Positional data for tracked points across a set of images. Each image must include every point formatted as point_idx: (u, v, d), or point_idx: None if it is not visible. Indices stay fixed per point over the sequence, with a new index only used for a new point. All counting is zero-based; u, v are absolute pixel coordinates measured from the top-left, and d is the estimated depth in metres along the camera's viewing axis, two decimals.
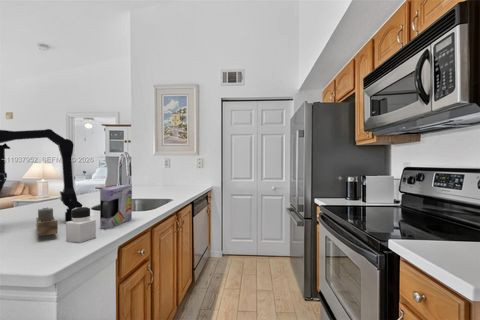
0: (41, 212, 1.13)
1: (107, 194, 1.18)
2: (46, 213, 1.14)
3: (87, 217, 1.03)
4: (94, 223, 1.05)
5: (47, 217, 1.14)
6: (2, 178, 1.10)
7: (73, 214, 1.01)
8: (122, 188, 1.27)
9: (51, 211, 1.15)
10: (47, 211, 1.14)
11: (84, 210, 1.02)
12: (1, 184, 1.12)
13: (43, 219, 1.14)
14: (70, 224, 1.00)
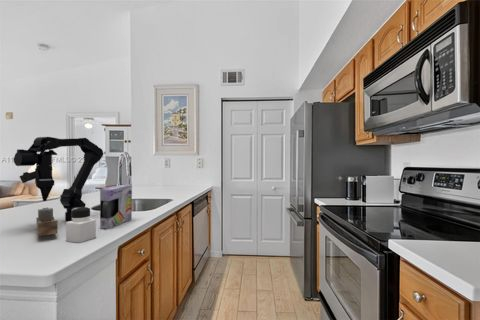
0: (41, 212, 1.13)
1: (107, 194, 1.18)
2: (46, 213, 1.14)
3: (87, 217, 1.03)
4: (94, 223, 1.05)
5: (47, 217, 1.14)
6: (52, 183, 1.15)
7: (73, 214, 1.01)
8: (122, 188, 1.27)
9: (51, 211, 1.15)
10: (47, 211, 1.14)
11: (84, 210, 1.02)
12: (50, 188, 1.20)
13: (43, 219, 1.14)
14: (70, 224, 1.00)
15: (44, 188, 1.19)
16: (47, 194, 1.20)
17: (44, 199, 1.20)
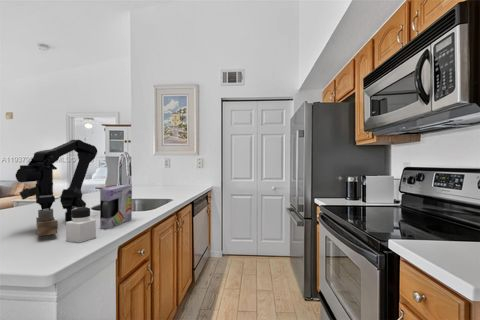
0: (41, 213, 1.12)
1: (107, 194, 1.18)
2: (46, 214, 1.13)
3: (87, 217, 1.03)
4: (94, 223, 1.05)
5: (47, 217, 1.13)
6: (53, 200, 1.12)
7: (73, 214, 1.01)
8: (122, 188, 1.27)
9: (51, 211, 1.14)
10: (47, 212, 1.13)
11: (84, 210, 1.02)
12: (50, 204, 1.17)
13: (43, 220, 1.12)
14: (70, 224, 1.00)
15: (44, 204, 1.17)
16: None
17: None
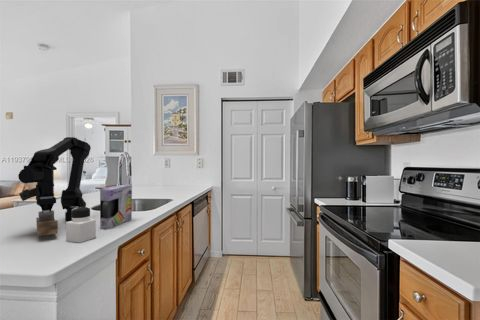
0: (42, 214, 1.08)
1: (107, 194, 1.18)
2: (47, 215, 1.09)
3: (87, 217, 1.03)
4: (94, 223, 1.05)
5: (48, 219, 1.09)
6: (54, 201, 1.08)
7: (73, 214, 1.01)
8: (122, 188, 1.27)
9: (52, 213, 1.10)
10: (48, 213, 1.10)
11: (84, 210, 1.02)
12: (51, 205, 1.14)
13: None
14: (70, 224, 1.00)
15: (45, 205, 1.13)
16: None
17: None
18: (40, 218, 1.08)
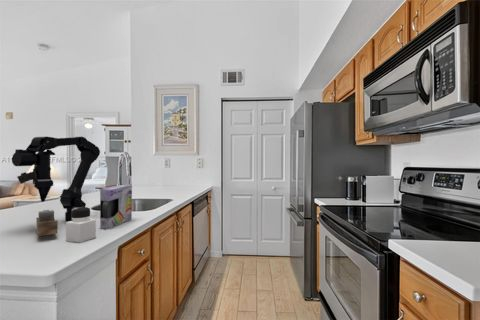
0: (42, 214, 1.08)
1: (107, 194, 1.18)
2: (47, 215, 1.09)
3: (87, 217, 1.03)
4: (94, 223, 1.05)
5: (48, 219, 1.09)
6: (51, 184, 1.13)
7: (73, 214, 1.01)
8: (122, 188, 1.27)
9: (52, 213, 1.10)
10: (48, 213, 1.09)
11: (84, 210, 1.02)
12: (48, 189, 1.18)
13: None
14: (70, 224, 1.00)
15: (42, 188, 1.18)
16: (45, 195, 1.18)
17: (42, 200, 1.18)
18: (40, 218, 1.08)
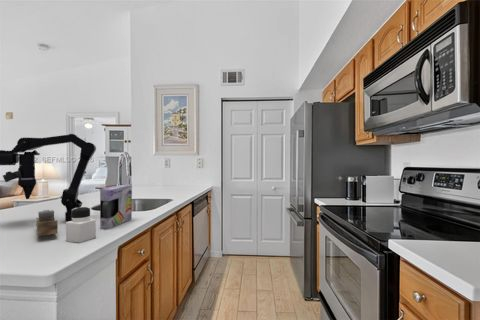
0: (42, 214, 1.08)
1: (107, 194, 1.18)
2: (47, 215, 1.09)
3: (87, 217, 1.03)
4: (94, 223, 1.05)
5: (48, 219, 1.09)
6: (34, 182, 1.20)
7: (73, 214, 1.01)
8: (122, 188, 1.27)
9: (52, 213, 1.10)
10: (48, 213, 1.09)
11: (84, 210, 1.02)
12: (32, 187, 1.26)
13: None
14: (70, 224, 1.00)
15: (27, 187, 1.25)
16: (30, 192, 1.26)
17: (27, 197, 1.25)
18: (40, 218, 1.08)
